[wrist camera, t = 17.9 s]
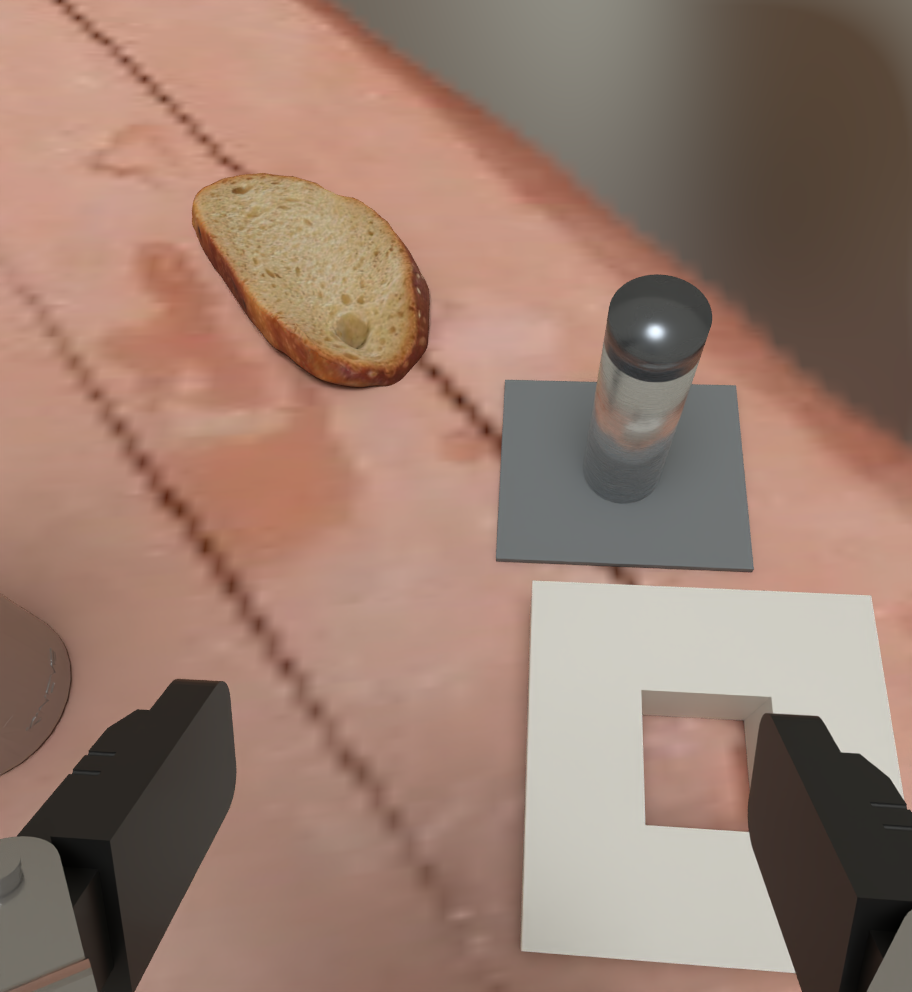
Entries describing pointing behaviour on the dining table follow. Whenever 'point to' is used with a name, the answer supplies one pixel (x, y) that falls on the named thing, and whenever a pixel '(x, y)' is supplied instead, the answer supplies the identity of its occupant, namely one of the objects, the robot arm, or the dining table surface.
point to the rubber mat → (614, 526)
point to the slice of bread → (317, 276)
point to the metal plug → (643, 383)
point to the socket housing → (620, 768)
